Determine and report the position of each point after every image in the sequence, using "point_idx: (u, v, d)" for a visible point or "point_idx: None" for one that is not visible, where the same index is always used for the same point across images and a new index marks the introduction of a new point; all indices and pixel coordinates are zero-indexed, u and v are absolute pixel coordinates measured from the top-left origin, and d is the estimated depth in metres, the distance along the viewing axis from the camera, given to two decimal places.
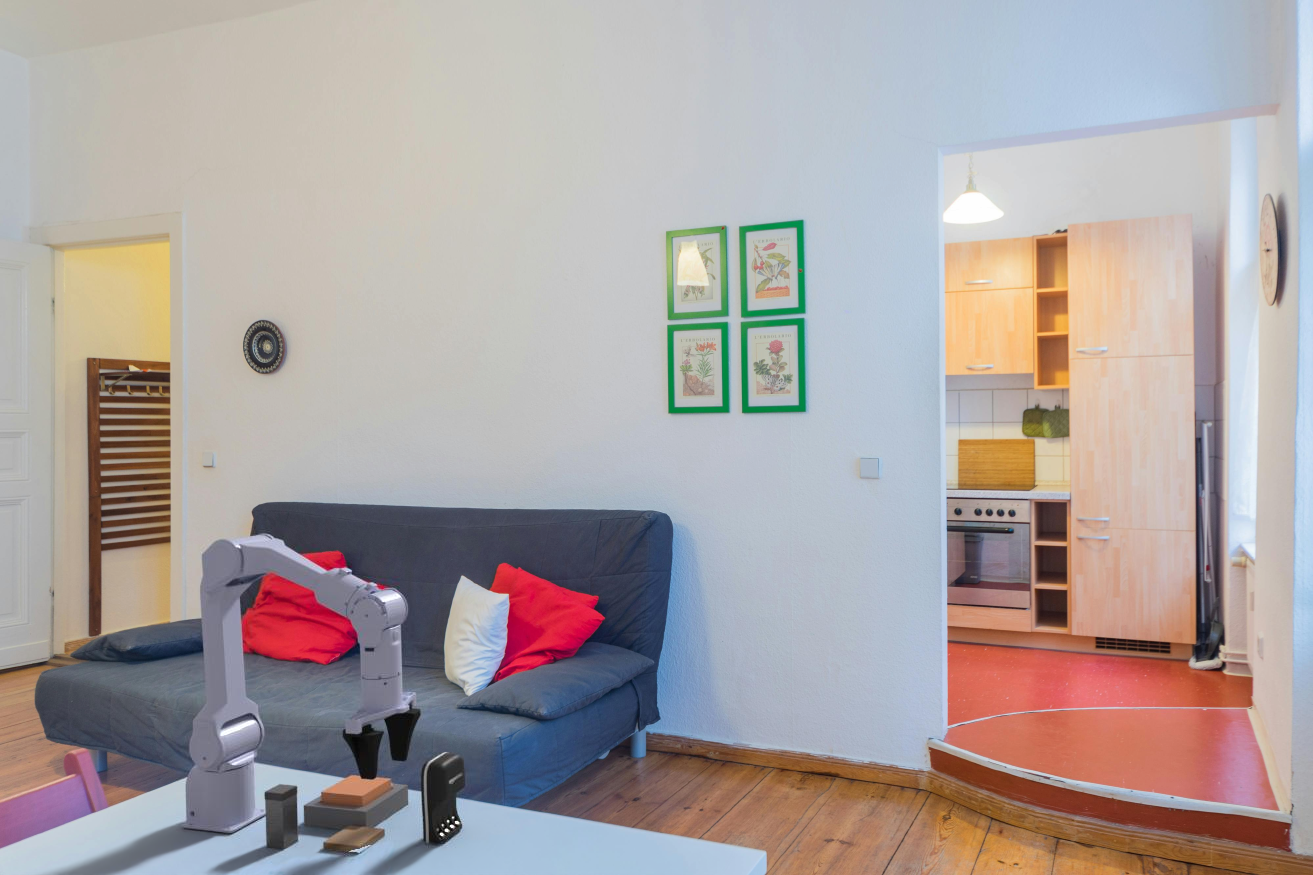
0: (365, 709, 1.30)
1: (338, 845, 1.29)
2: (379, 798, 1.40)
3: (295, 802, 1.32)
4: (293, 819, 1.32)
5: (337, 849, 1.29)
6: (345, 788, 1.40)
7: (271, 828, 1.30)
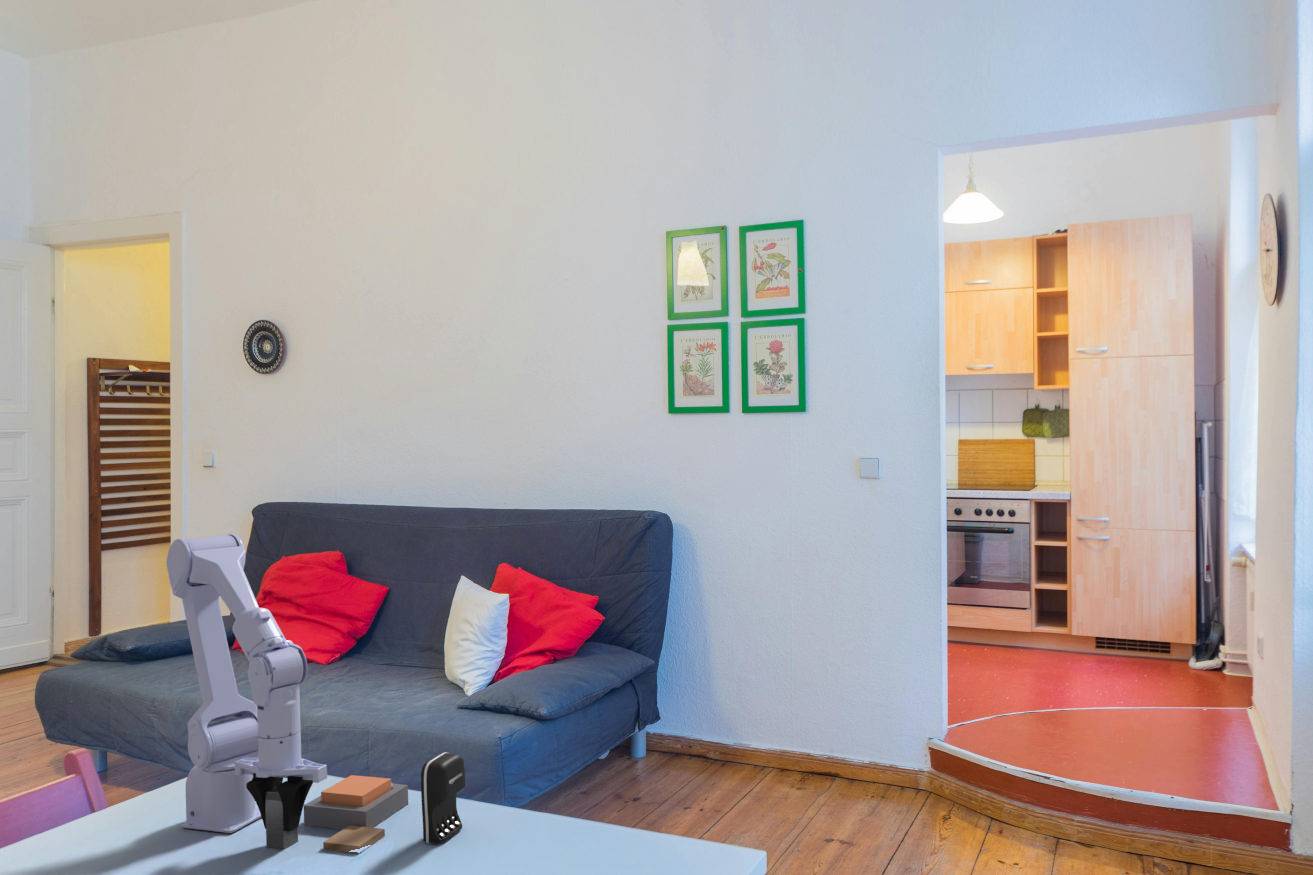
0: None
1: (338, 845, 1.29)
2: (379, 798, 1.40)
3: None
4: None
5: (337, 849, 1.29)
6: (345, 788, 1.40)
7: (271, 828, 1.30)
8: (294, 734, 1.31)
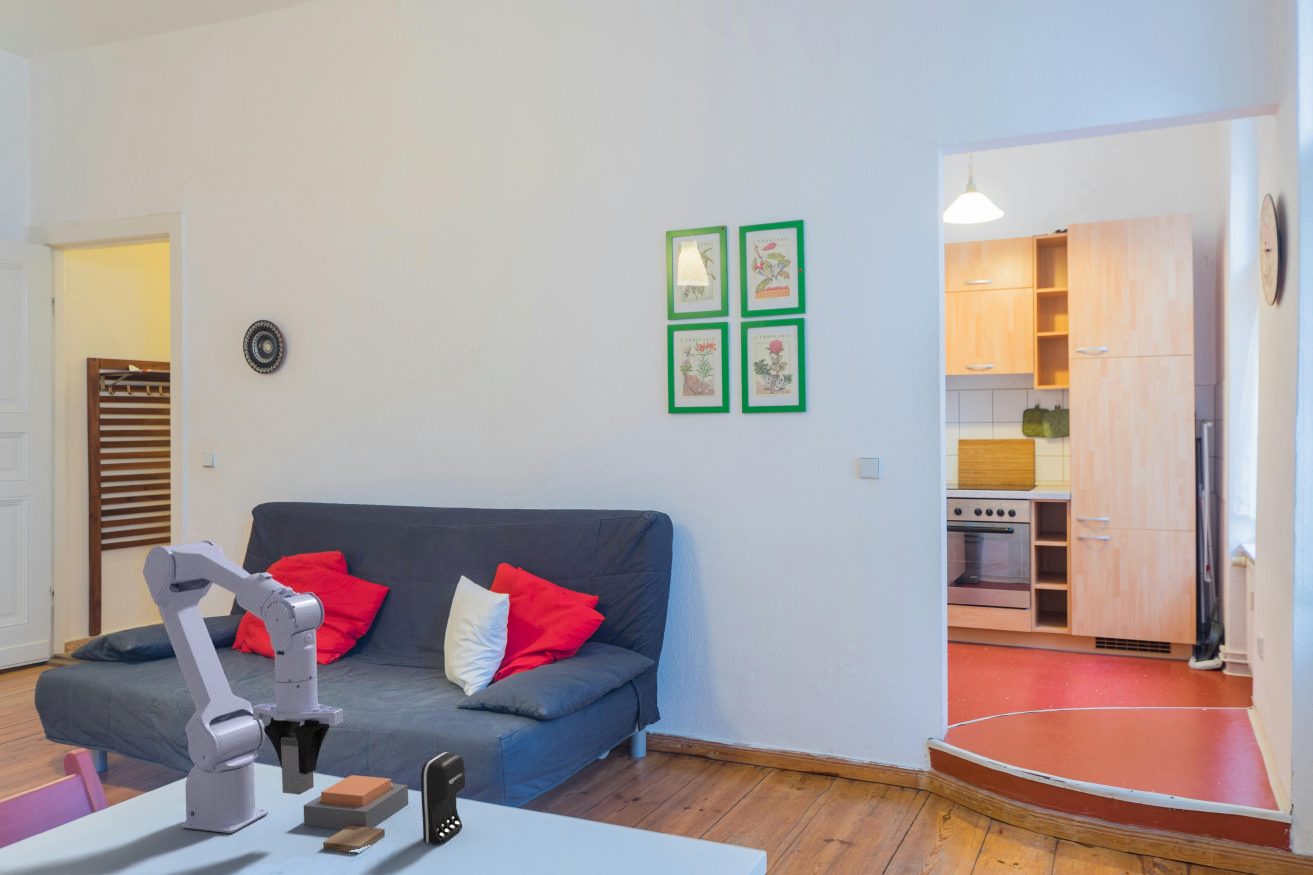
0: None
1: (338, 845, 1.29)
2: (379, 798, 1.40)
3: None
4: None
5: (337, 849, 1.29)
6: (345, 788, 1.40)
7: (287, 773, 1.32)
8: (311, 679, 1.33)
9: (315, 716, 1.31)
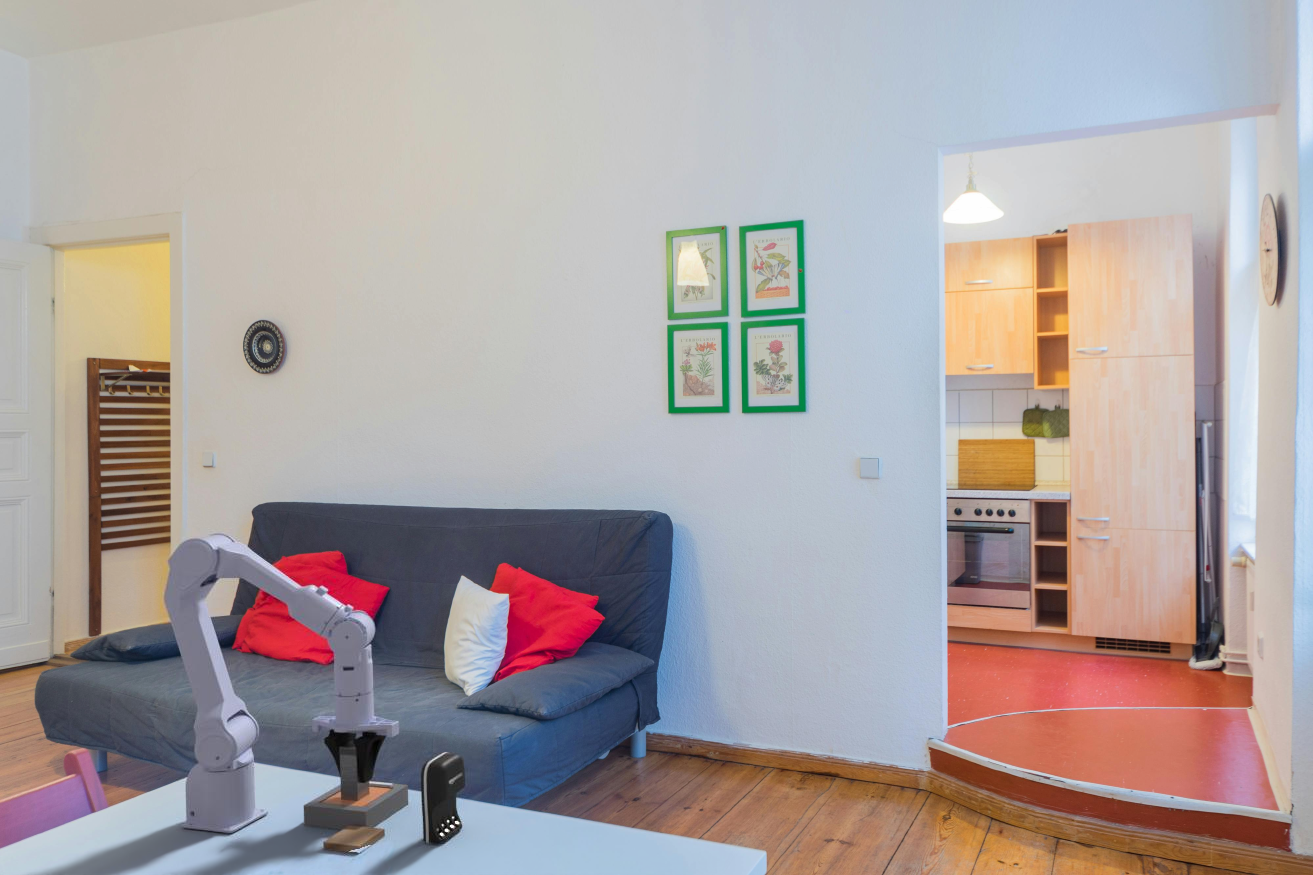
0: None
1: (338, 845, 1.29)
2: (379, 798, 1.40)
3: None
4: None
5: (337, 849, 1.29)
6: None
7: (345, 781, 1.40)
8: (368, 693, 1.41)
9: (373, 728, 1.39)
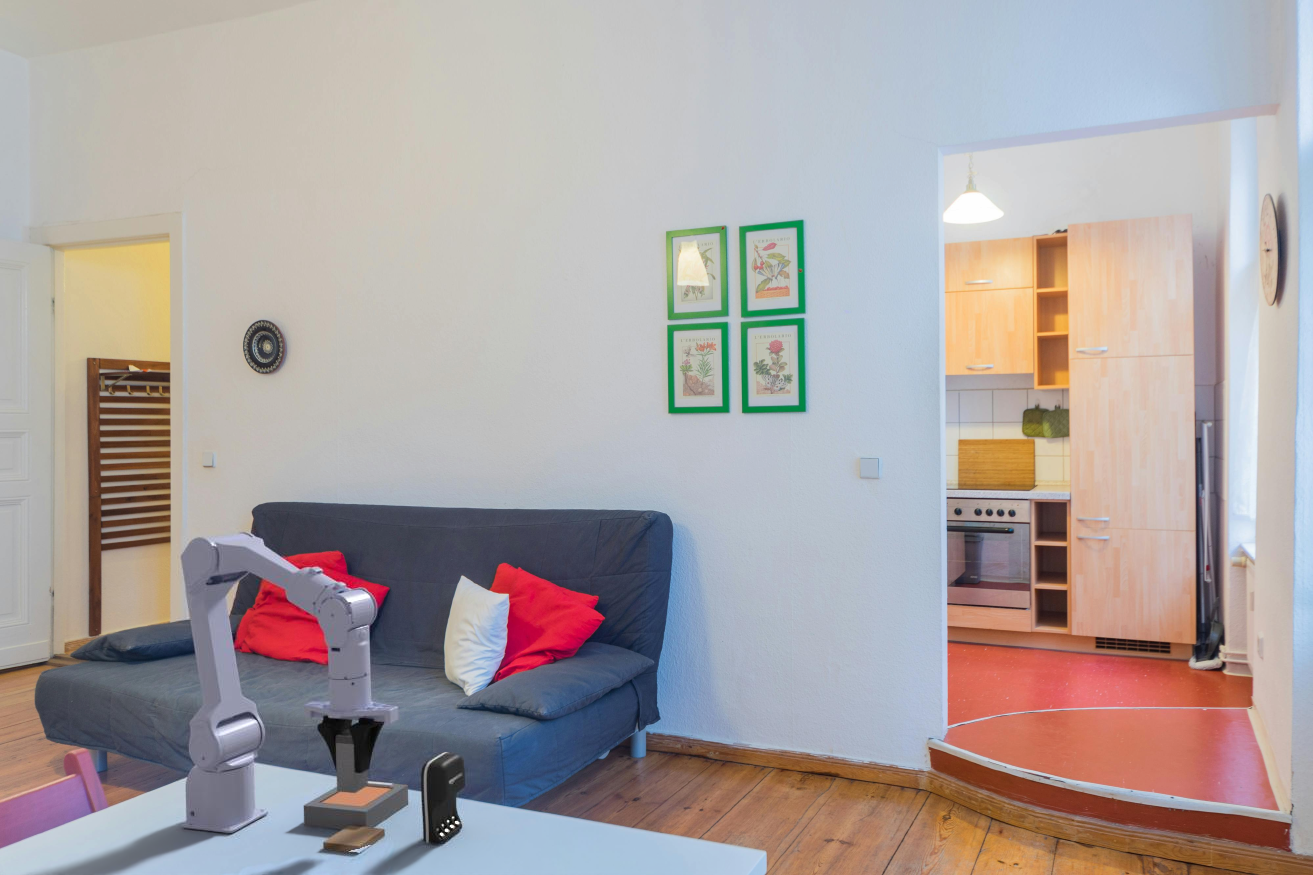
0: None
1: (338, 845, 1.29)
2: (379, 798, 1.40)
3: None
4: None
5: (337, 849, 1.29)
6: (345, 798, 1.40)
7: (341, 772, 1.30)
8: (365, 676, 1.31)
9: (371, 714, 1.29)
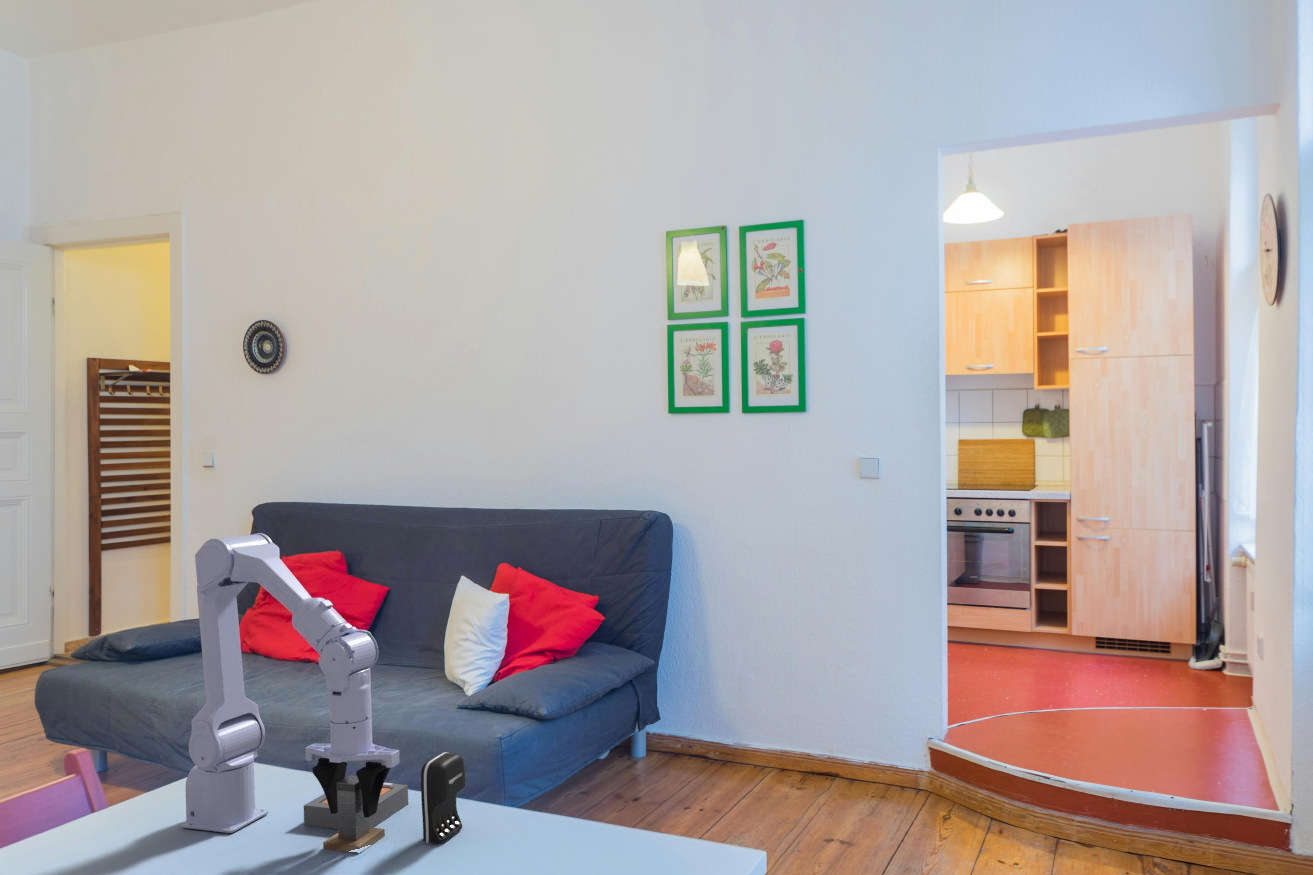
0: None
1: (338, 845, 1.29)
2: (379, 798, 1.40)
3: None
4: None
5: (337, 849, 1.29)
6: None
7: (343, 819, 1.30)
8: (366, 719, 1.30)
9: (372, 758, 1.29)
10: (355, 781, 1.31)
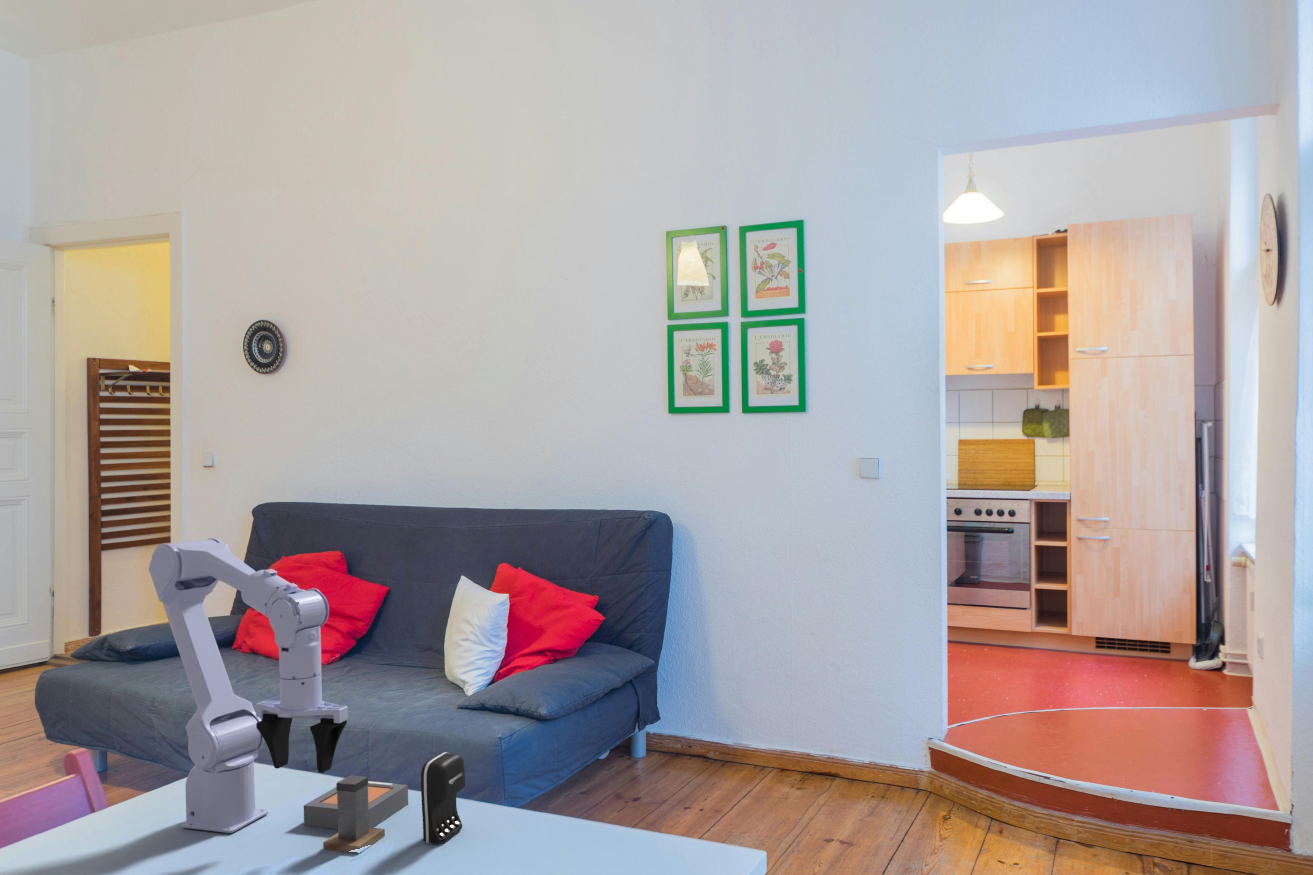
0: None
1: (338, 845, 1.29)
2: (379, 798, 1.40)
3: (366, 793, 1.32)
4: (365, 810, 1.31)
5: (337, 849, 1.29)
6: None
7: (343, 819, 1.30)
8: (315, 676, 1.32)
9: (320, 713, 1.30)
10: (355, 781, 1.31)
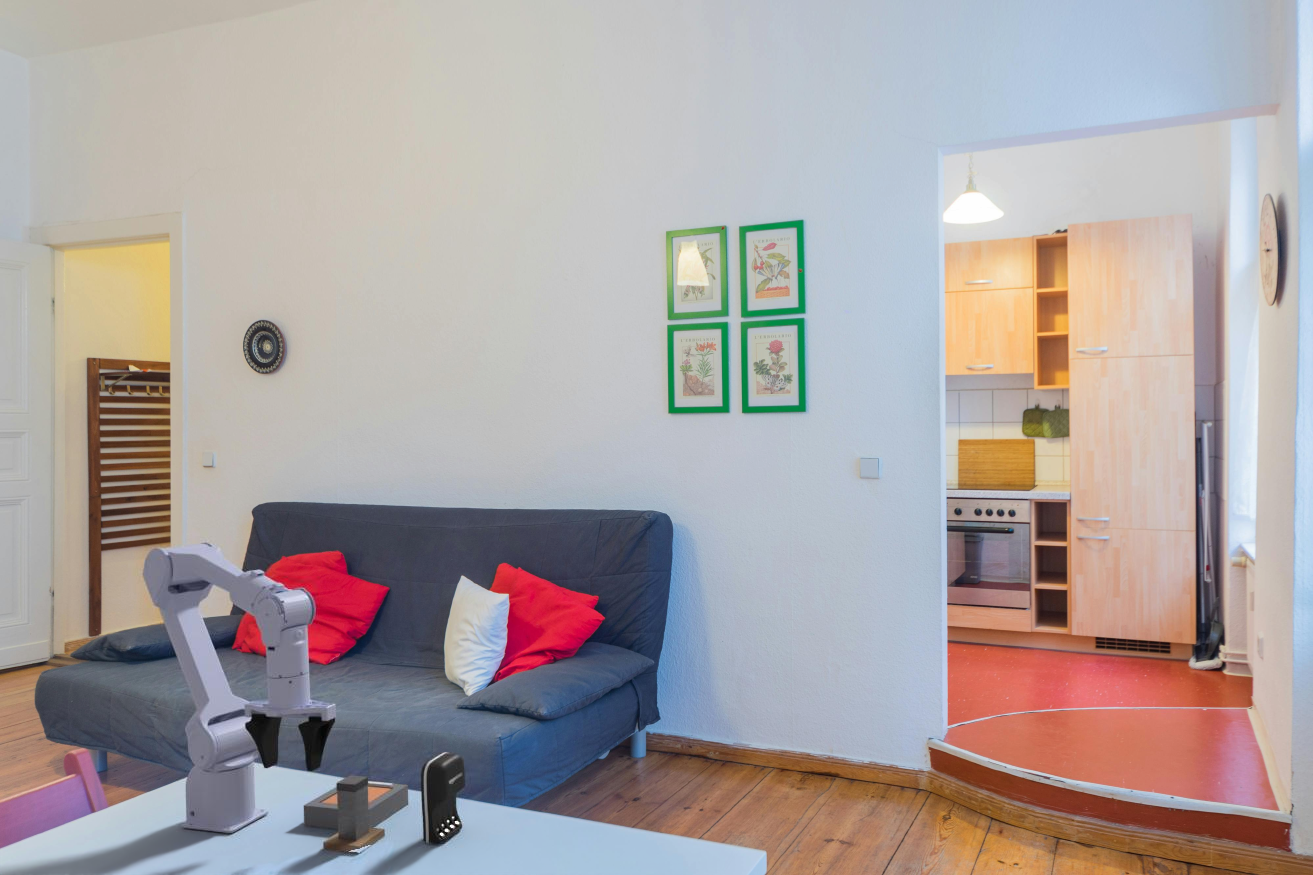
0: None
1: (338, 845, 1.29)
2: (379, 798, 1.40)
3: (366, 793, 1.32)
4: (365, 810, 1.31)
5: (337, 849, 1.29)
6: None
7: (343, 819, 1.30)
8: (303, 674, 1.33)
9: (308, 711, 1.31)
10: (355, 781, 1.31)
